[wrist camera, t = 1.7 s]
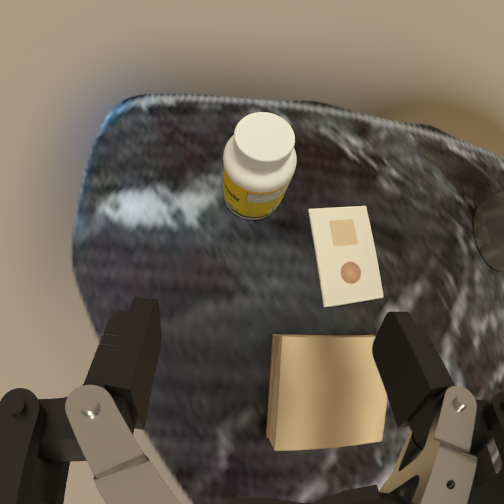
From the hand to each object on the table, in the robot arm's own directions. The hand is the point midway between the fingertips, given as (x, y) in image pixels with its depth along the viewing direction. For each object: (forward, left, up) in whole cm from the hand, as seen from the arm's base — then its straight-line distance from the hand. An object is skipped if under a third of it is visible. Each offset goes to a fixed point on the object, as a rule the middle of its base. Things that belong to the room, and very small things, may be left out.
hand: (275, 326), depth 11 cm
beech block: (-7, +5, -16) cm, 18 cm away
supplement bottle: (0, -12, -16) cm, 20 cm away
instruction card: (-9, -7, -16) cm, 20 cm away
